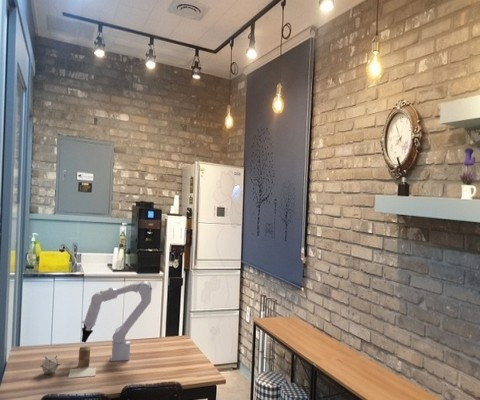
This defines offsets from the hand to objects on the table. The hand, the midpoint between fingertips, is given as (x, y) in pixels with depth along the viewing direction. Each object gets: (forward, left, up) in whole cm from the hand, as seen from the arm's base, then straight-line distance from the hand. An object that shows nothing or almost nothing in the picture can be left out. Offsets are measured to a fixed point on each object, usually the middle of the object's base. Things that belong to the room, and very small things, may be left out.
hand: (84, 339), depth 211 cm
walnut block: (-1, +11, -10) cm, 15 cm away
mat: (-1, +19, -10) cm, 22 cm away
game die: (+14, +17, -11) cm, 24 cm away
